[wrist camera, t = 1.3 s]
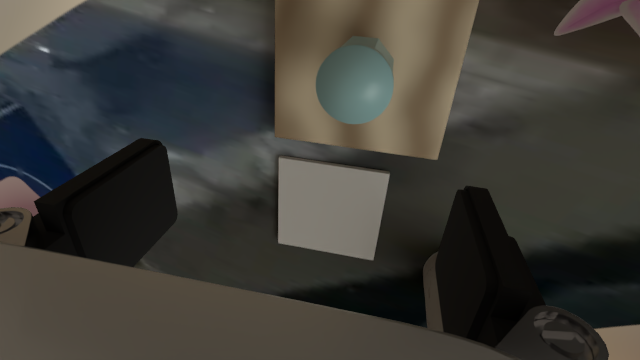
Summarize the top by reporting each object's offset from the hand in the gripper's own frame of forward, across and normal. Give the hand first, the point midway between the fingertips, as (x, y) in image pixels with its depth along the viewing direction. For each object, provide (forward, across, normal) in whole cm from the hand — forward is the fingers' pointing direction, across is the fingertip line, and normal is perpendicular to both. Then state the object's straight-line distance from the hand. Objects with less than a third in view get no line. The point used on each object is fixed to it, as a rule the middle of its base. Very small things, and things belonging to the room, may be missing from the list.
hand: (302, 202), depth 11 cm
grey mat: (+24, +2, +17) cm, 30 cm away
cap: (+20, 0, 0) cm, 20 cm away
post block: (+24, 0, 0) cm, 24 cm away
